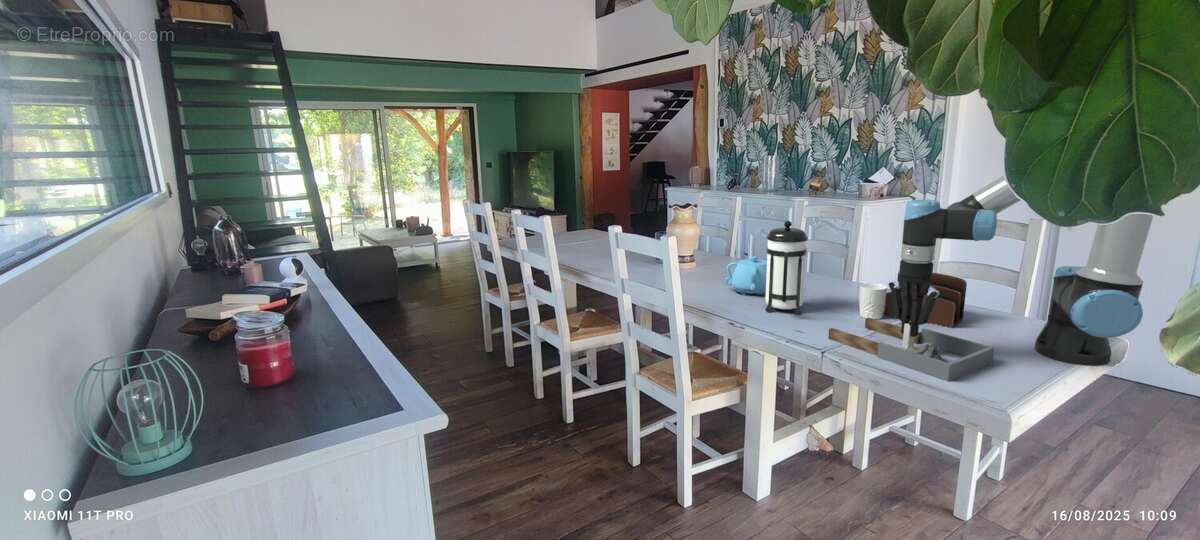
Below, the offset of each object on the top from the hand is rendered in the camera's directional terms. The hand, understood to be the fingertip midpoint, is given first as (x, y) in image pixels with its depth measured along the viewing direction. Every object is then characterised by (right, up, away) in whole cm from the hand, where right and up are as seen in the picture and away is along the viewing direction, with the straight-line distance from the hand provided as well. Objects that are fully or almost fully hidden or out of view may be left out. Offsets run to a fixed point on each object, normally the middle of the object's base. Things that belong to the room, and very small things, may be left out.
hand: (907, 346), depth 150 cm
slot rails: (-5, 0, +9) cm, 10 cm away
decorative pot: (-25, +12, +62) cm, 68 cm away
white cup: (+4, +5, +30) cm, 31 cm away
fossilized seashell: (0, -3, -7) cm, 7 cm away
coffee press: (-20, +7, +39) cm, 44 cm away
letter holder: (+20, +5, +27) cm, 34 cm away
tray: (+4, -3, -6) cm, 7 cm away
